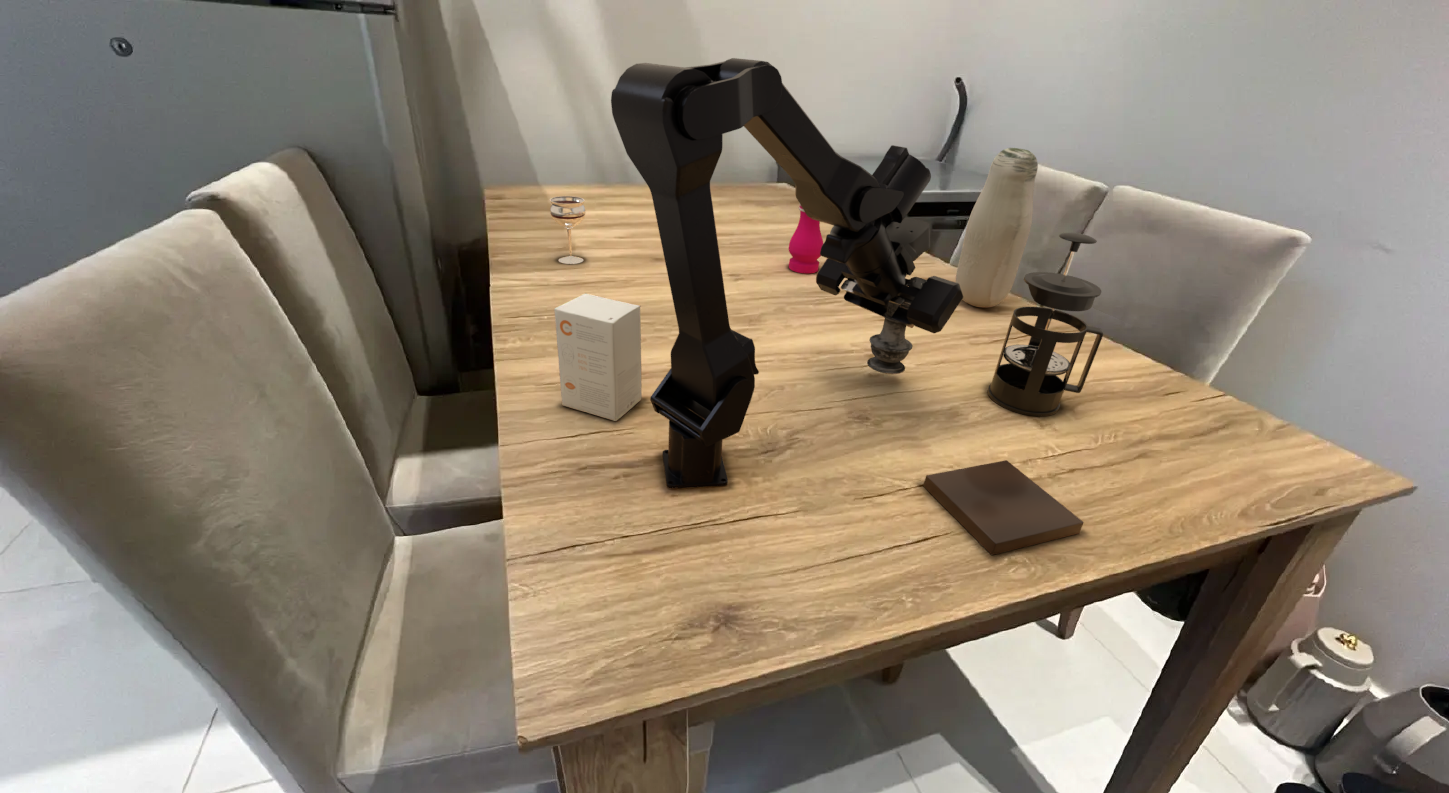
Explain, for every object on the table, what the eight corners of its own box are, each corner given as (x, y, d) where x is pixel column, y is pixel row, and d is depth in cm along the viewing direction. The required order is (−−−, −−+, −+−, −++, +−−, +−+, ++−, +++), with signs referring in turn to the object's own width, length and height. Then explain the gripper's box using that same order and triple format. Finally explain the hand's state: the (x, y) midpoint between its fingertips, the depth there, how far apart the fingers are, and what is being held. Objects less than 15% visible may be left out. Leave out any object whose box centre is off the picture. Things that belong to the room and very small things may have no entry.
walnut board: (1079, 533, 63) (1084, 522, 62) (991, 555, 60) (996, 543, 59) (1003, 470, 72) (1006, 459, 71) (922, 486, 68) (925, 475, 68)
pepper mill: (780, 264, 134) (790, 166, 124) (808, 262, 137) (821, 166, 127) (797, 275, 128) (810, 173, 118) (827, 273, 131) (842, 173, 121)
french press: (981, 405, 85) (1033, 237, 74) (982, 376, 93) (1029, 220, 82) (1075, 426, 82) (1145, 253, 70) (1069, 394, 90) (1130, 234, 78)
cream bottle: (1016, 311, 118) (1065, 153, 104) (973, 316, 114) (1018, 153, 101) (980, 293, 126) (1021, 144, 112) (938, 297, 122) (975, 144, 108)
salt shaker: (908, 377, 86) (928, 294, 80) (864, 371, 86) (881, 288, 81) (906, 360, 91) (924, 280, 85) (865, 354, 92) (880, 274, 86)
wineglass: (594, 259, 129) (592, 200, 123) (571, 267, 124) (567, 205, 118) (570, 253, 132) (566, 194, 126) (546, 260, 127) (541, 199, 121)
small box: (642, 400, 81) (642, 305, 74) (615, 423, 76) (613, 323, 69) (589, 384, 83) (584, 291, 77) (560, 405, 78) (552, 308, 72)
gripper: (977, 216, 69) (996, 293, 81) (843, 184, 81) (877, 255, 93) (922, 297, 68) (950, 363, 80) (794, 253, 80) (835, 316, 92)
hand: (901, 320), depth 86 cm, fingers closed on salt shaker, 3 cm apart
